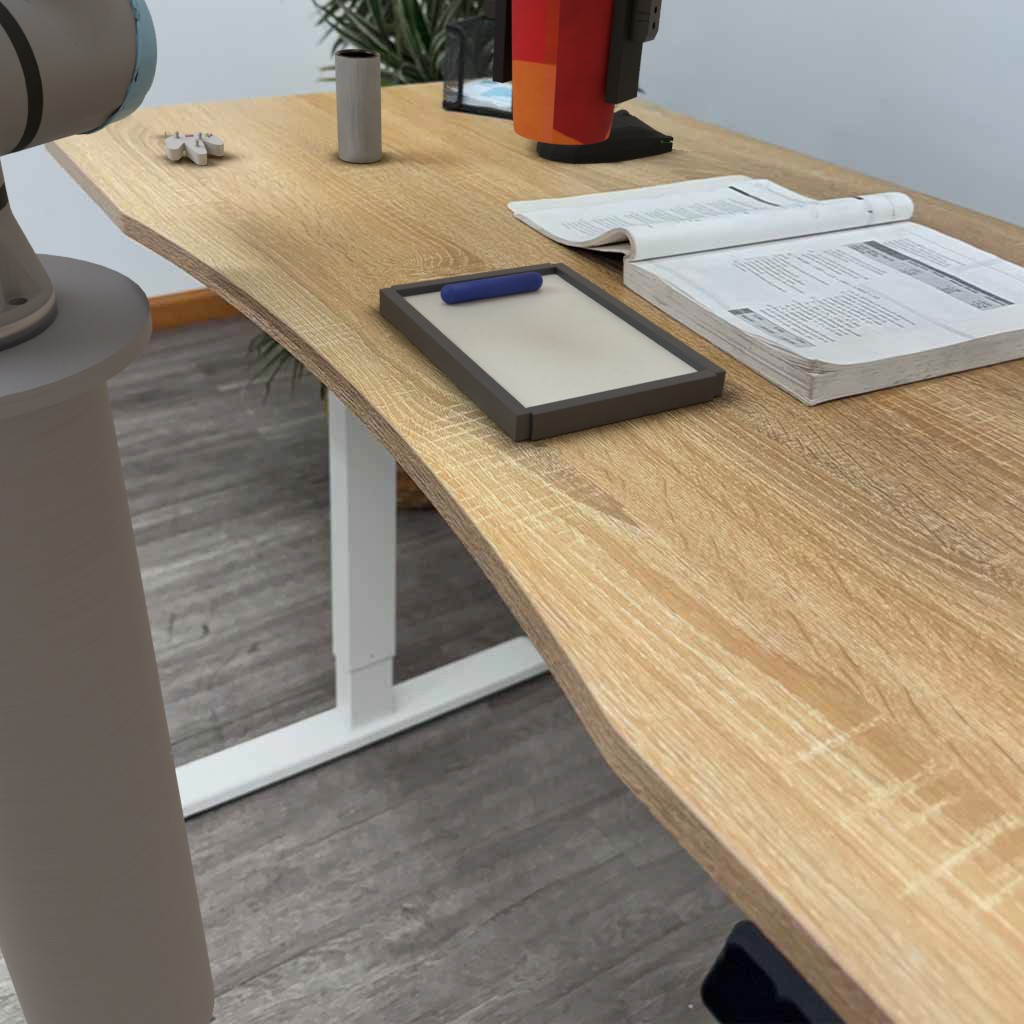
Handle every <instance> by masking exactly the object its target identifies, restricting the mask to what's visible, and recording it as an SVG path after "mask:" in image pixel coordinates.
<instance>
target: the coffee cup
mask: <svg viewBox="0 0 1024 1024" xmlns="http://www.w3.org/2000/svg"><path fill="white" fill-rule="evenodd" d="M614 2H615V0H512V81H511V82H512V83H511V84H512V122H513V131H514V133H515V134H516V135H518V136H520V137H521V138H524V139H527V140H530V141H533V142H534V141H535V142H544V143H551V144H563V145H583V144H592V143H598V142H601V141H604V140H606V139H607V138H608V137H609V134H610V129H611V125H612V119H613V114H614V112H615V106H616V105H615V104H610V103H605V96H606V86H607V75H608V65H609V54H610V44H611V34H612V23H613V13H614Z"/></svg>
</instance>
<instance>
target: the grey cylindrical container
mask: <svg viewBox="0 0 1024 1024" xmlns="http://www.w3.org/2000/svg"><path fill="white" fill-rule="evenodd" d="M334 74H335V99H336V100H335V102H336V126H337V127H336V128H337V130H336V131H337V151H338V158H339V159H340V160H341V161H343V162H347V163H354V164H369V163H376V162H378V161H380V160H381V159H382V157H383V156H382V155H383V144H382V143H383V140H382V139H383V138H382V133H383V132H382V85H381V84H382V77H381V54H380V53H379V52H378V51H375V50H371V49H365V48H364V49H363V48H346V49H345V48H344V49H339V50H337V51H335V52H334Z"/></svg>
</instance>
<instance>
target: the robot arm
mask: <svg viewBox="0 0 1024 1024" xmlns="http://www.w3.org/2000/svg"><path fill="white" fill-rule="evenodd" d="M662 3H663V0H615V2H614V13H613V23H612V34H611V44H610V54H609V65H608V75H607V86H606V96H605V103H610V104H615V106H616V105H619V104H623V103H626V102H628V101H631V100H633V99H636V98H638V91H639V81H640V72H641V65H642V64H641V63H642V54H643V45H644V43H648V42H652V41H654V40H655V39H656V36H657V35H658V33H659V28H660V19H661V11H662ZM484 11H485V16H486V19H491V20H494V30H493V31H494V32H493V54H492V55H493V56H492V57H493V58H492V82H493V83H498V84H499V83H500V84H506V83H509V82H512V0H484ZM157 64H158V42H157V35H156V29H155V25H154V21H153V17H152V14H151V11H150V9H149V7H148V5H147V3H146V0H0V158H1V157H4V156H6V155H10V154H15V153H19V152H21V151H26V150H29V149H32V148H35V147H38V146H39V147H40V146H41V145H45V144H48V143H51V142H55V141H58V140H61V139H65V138H70V137H72V136H82V135H86V136H88V135H91V134H95V133H98V132H99V131H101V130H103V129H104V128H107V126H109V125H111V124H114V123H117V122H119V121H122V120H124V119H126V118H128V117H129V116H131V115H132V114H133V113H135V112H136V111H137V110H138V109H139V108H140V107H141V105H142V104H143V102H144V101H145V99H146V96H147V94H148V93H149V91H151V87H152V86H153V83H154V79H155V76H156V70H157ZM8 195H9V194H8V191H7V186H6V181H5V176H4V171H3V166H2V161H1V160H0V351H3V350H6V349H9V348H11V347H14V346H17V345H19V344H22V343H24V342H26V341H28V340H30V339H32V338H34V337H35V336H37V335H39V334H40V333H42V332H43V331H44V330H46V329H47V328H48V327H49V326H50V325H51V324H52V323H53V322H54V320H55V319H56V317H57V314H58V306H57V301H56V296H55V291H54V286H53V284H52V282H51V280H50V278H49V276H48V274H47V272H46V271H45V269H44V267H43V265H42V264H41V262H40V260H39V258H38V257H37V255H36V252H35V250H34V248H33V246H32V244H31V243H30V241H29V240H28V238H27V236H26V234H25V232H24V231H23V229H22V227H21V225H20V224H19V221H18V220H17V219H16V217H15V215H14V213H13V210H12V208H11V204H10V199H9V196H8Z"/></svg>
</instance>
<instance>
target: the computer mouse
mask: <svg viewBox="0 0 1024 1024" xmlns="http://www.w3.org/2000/svg"><path fill="white" fill-rule="evenodd" d="M674 139H675V138H674V137H673V136H672V135H668V134H664V133H662V132H661V131H658V130H657V129H655V128H653V127H652V126H650V125H649V124H647V123H646V122H644V121H643V120H641V119H640V118H638V117H637V116H635V115H632V114H631V113H630V112H629V111H628V110H627V109H622V108H621V109H619V110H617V111H614V114H613V119H612V125H611V129H610V134H609V137H608V138H607V139H606V140H604V141H601V142H598V143H592V144H583V145H563V144H551V143H544V142H538V141H536V150H535V151H536V153H537V155H538V157H541V158H544V159H546V160H548V161H554V162H559V163H566V164H573V165H577V164H579V165H580V164H581V165H583V164H603V163H614V162H615V163H616V162H625V161H630V160H635V159H642V158H647V157H651V156H657V155H661V154H665V153H669V152H672V151H673V147H674Z"/></svg>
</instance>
